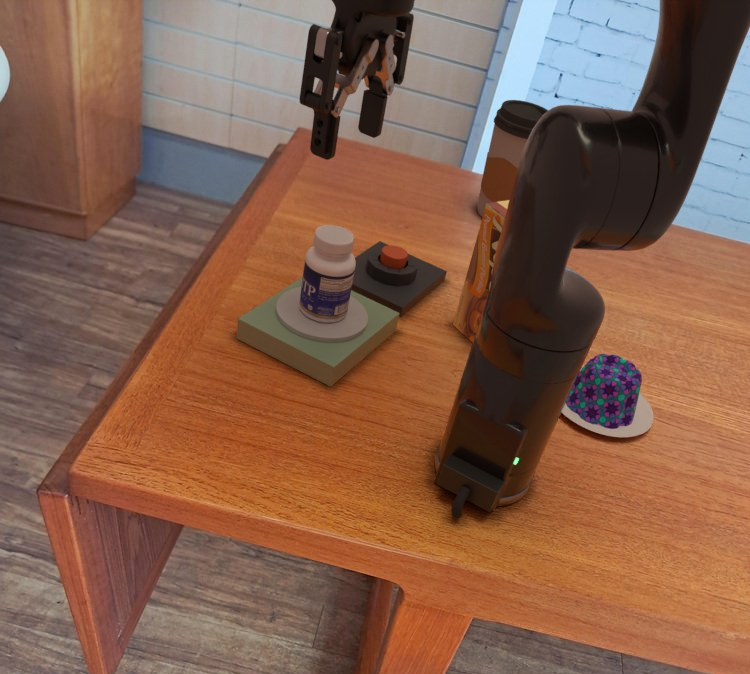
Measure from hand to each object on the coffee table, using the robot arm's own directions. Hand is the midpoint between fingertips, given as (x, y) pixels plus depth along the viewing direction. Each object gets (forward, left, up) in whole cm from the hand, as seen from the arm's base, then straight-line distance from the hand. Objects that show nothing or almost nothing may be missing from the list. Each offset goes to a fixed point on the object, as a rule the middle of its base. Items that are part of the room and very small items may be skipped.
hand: (346, 144), depth 73 cm
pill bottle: (0, 0, -18) cm, 18 cm away
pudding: (+11, -30, -21) cm, 38 cm away
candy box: (+13, -15, -21) cm, 29 cm away
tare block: (+16, 0, -21) cm, 26 cm away
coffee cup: (+46, -2, -21) cm, 50 cm away
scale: (0, 0, -21) cm, 21 cm away
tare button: (+16, 0, -18) cm, 24 cm away
